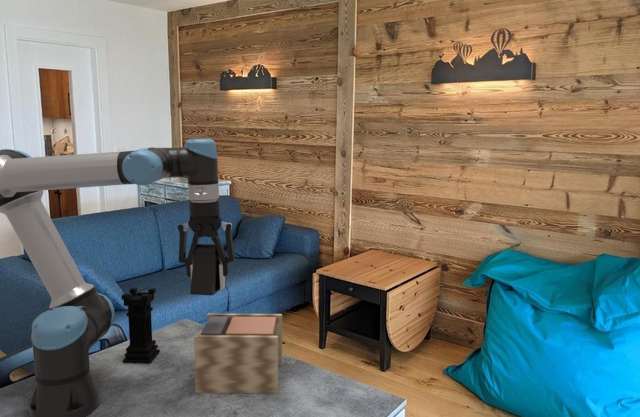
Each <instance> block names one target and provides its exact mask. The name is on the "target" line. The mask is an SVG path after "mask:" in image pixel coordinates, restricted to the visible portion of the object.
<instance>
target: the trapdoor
mask: <svg viewBox="0 0 640 417" xmlns="http://www.w3.org/2000/svg"><path fill="white" fill-rule="evenodd" d="M275 324H276V317H233V318H232V320H231V322H230V325H229V319H228V317H226V316H210V318H209V320H208V322H207V321H206V324H205V325H204V327H203V328H202V330H201V332H200V335H253V336H273V333H274V328H275Z"/></svg>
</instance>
